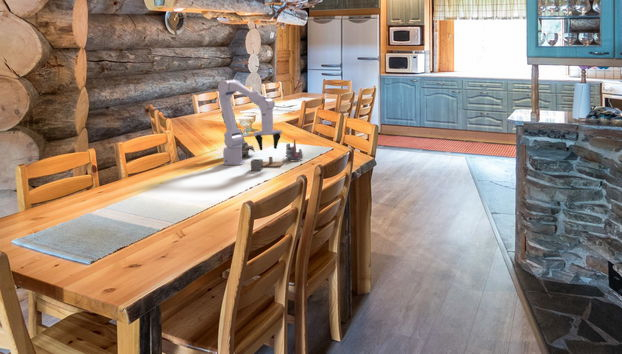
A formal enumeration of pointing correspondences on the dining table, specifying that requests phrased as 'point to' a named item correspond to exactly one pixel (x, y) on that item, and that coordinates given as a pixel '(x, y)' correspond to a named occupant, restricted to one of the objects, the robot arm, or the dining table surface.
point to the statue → (245, 145)
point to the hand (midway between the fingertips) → (268, 149)
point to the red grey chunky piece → (293, 152)
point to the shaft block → (272, 163)
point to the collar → (256, 164)
